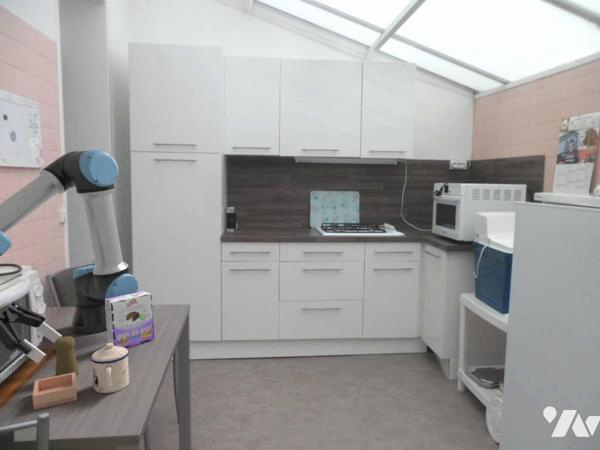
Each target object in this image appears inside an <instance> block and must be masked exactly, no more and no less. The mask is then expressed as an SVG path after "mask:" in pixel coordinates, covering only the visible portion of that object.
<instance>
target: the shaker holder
mask: <svg viewBox="0 0 600 450" xmlns="http://www.w3.org/2000/svg"><path fill="white" fill-rule="evenodd" d="M76 377H77V376H76V375H75V372H74V373H69V374H64V375H59V376H55V375H54V376H49V377H45V378H40V379H36V380H34V385H33V392H32V404H33V411H35V410H39V409H40V410H41V409H43V408H49V407H53V406H57V405H61V404H65V403H71V402H74V401H78V400H77V399H78V397H77V396H78V395H77V393H78V392H77V378H76Z"/></svg>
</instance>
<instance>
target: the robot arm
mask: <svg viewBox="0 0 600 450" xmlns="http://www.w3.org/2000/svg"><path fill="white" fill-rule="evenodd" d="M119 173H120V171H119V166H118V163H117V161H116V159H115V158H114V156H112V155H111V154H109V153H108V152H106V151H103V150H97V149H89V150H76V151H69V152H67V153H65V154H63V155H61V156H59V157H58V158H57V159H55V160H54V161H52V162H51V163H49V164H48V165H47V166H45V167H44V168H42V169H41V170H40V171H39V175H38V176H37V177H36V178H34V179H33V180H31V181H30V182H28V183H27V184H26V185H25V186H23V187H21V189H19V190H18V191H16V192H15V193H13V194H11V196H8V198H7V199H5V200H3V201H2V202H1V203H0V257H1V256H3V255H5V253H6V252H7V251H8V250H9V249H11V248H12V246H13V243H12V240H11V239H10V237H9V236H8V235H7V234H6V233H7V232H8V231H10V230H12V228H13V227H15V226H17V224H19V223H20V222H21V221H23V220H24V219H25V218H26V217H29V216H30V214H32V213H33V212H35V211H36V210H37V209H38V208H40V207H41V206H42V205H45V203H46V202H48V201H49V200H51V199H52V198H53V197H54V196H56V195H57V194H60V195H61V194H63V193H65V192H66V191H68V190H69V189H71V188H75V191H76V195H78V196H79V197H81V198H83V205H84V209H85V210H84V211H85V214H86V219H87V225H88V231H89V234H90V240H91V244H92V250H93V255H94V256H93V257H94V260H95V265H94V264H93V265H88V266H82V267H78V268H76V269H74V270H73V272H72V281H73V293H74V305H75V307H74V308H75V309H74V313H73V317H72V321H71V331H72V332H73V333H75V334H82V335H84V334H96V333H100V332H105V331H107V327H106V312H105V299H108V298H113V297H118V296H123V295H127V294H132V293H137V292H139V281H138V279H137V278H136V277H135V276H134V275H133V274H131V272H130V268H129V267H130V265H129V264H128V263H127V262H126V261H123V260H124V259H123V254H122V248H121V242H120V238H119V233H118V232H119V231H118V226H117V221H116V216H115V215H116V214H115V209H114V204H113V198H112V197H113V196H112V193H114V191H115V187H116V186H115V182H117V178H118V177H119ZM9 304H10V303H9ZM9 304H8V305H7V306H5V307H3V308H1V309H0V342H1V343H2V345H3V346H4V348H5V349H7V350H10V351H14V350H15V349H17V350H18V351H19V352H21V353H22V354H24V355H26V357H28V358H29V359H31V360H32V361H33V362H34V363H36V364H38V363H39V362H41V360H42V359H43V358H44V357H45V356H46V355H47V354H46V353H44V352H43V351H42V350H40V348H38V347H37V346H35V345H34V344H32V343H31V342H29V341H28V340H27V339H26V338H24V340H23V339H22V337H21V335H20V333H19V331H18V330H17V327H16V326H15V324H16V323H19V324H23V325H25V326H28V327H33V328H35V331H37V332H38V333H39V334H40V335H42V336H44V338H46V339H48V340H49V341H50V342H51V343H53V344H54V343H55V341H56V340H57V339H59V338H61V337H63V335H62V334H60V333H59V332H58V331H56V330H55V329H54V328H52V327H51V326H50V325H48V324H47V323H46V322H45V320H46V317H44V315H41V314H39V313H38V312H35V311H33V310H31V309H29V308H27V307H25V306H22V305H21V304H19V303H18V302H16V301H14V302H13V303H12V304H10V305H9Z"/></svg>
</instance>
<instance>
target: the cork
mask: <svg viewBox="0 0 600 450" xmlns="http://www.w3.org/2000/svg"><path fill="white" fill-rule="evenodd" d="M53 345H54V350H55V351H56V358H55V359H56V360H55V372H54V373H55V374H54V376H59V375H64V374H69V373H74V372H75V375H76V377H78V376H79V375H80V370H79V366H78V363H77V358H76V357H77V356H76V353H75V349H74V348H75V346H76V340H75V338H74V336H70V335H68V336H62V337H61V338H59V339H57V340H56V341H55V343H53Z"/></svg>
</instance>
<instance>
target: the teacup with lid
mask: <svg viewBox="0 0 600 450" xmlns="http://www.w3.org/2000/svg"><path fill="white" fill-rule="evenodd" d="M90 360H91V363H92V378H93V389H94V391H95V392H97V393H99V394H112V393H116V392H118V391H121V390H123V389H125V388H126V387H127V386H128V385H129V384H130V372H129V371H130V370H129V351H128V348H124V347H118V346H114V344H113V343H106V344H105V346H104V347H102V348H100V349H98V350H96V351H95V352H94V353H93V354H92V355H91V358H90Z"/></svg>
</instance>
